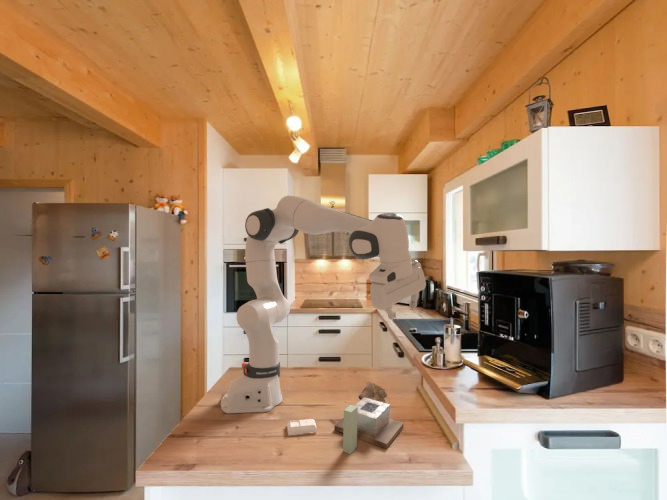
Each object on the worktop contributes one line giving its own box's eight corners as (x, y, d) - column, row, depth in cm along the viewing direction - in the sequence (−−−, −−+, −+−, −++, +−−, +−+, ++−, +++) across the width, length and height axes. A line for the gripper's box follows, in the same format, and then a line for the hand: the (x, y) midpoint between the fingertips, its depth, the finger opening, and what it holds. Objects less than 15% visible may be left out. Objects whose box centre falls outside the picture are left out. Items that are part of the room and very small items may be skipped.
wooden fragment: (387, 413, 120) (387, 410, 120) (357, 410, 121) (357, 407, 121) (386, 384, 145) (386, 381, 145) (360, 382, 147) (360, 380, 147)
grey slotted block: (389, 421, 111) (389, 404, 111) (375, 436, 102) (375, 418, 102) (364, 412, 116) (364, 397, 116) (348, 427, 107) (348, 410, 107)
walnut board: (403, 427, 110) (403, 422, 110) (386, 448, 98) (386, 443, 98) (355, 411, 120) (355, 407, 120) (334, 429, 108) (334, 425, 108)
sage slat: (356, 446, 99) (357, 406, 99) (350, 454, 96) (351, 412, 95) (349, 444, 100) (350, 404, 100) (342, 451, 97) (343, 409, 97)
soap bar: (316, 434, 106) (316, 425, 106) (288, 436, 104) (288, 428, 104) (314, 425, 111) (314, 417, 111) (287, 428, 109) (287, 420, 109)
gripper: (411, 258, 106) (416, 299, 109) (364, 277, 94) (371, 322, 97) (427, 259, 101) (433, 302, 104) (380, 280, 89) (387, 328, 92)
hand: (403, 312), depth 100 cm, fingers open, 8 cm apart
